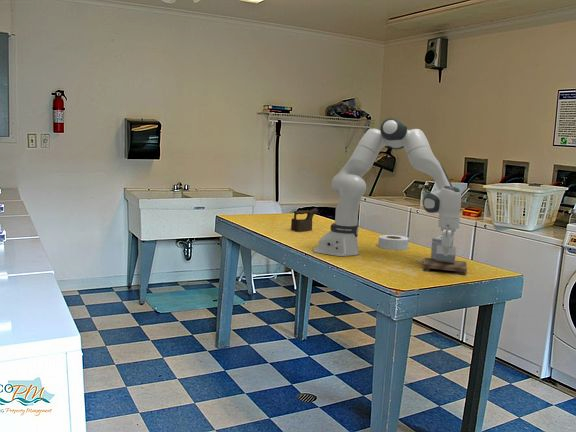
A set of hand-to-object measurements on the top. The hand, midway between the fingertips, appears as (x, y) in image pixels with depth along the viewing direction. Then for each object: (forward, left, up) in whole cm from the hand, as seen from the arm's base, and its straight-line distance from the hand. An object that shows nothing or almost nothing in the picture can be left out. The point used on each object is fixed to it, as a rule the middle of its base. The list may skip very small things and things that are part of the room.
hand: (446, 254), depth 237 cm
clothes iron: (-83, +64, -7) cm, 105 cm away
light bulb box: (-2, +21, -7) cm, 22 cm away
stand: (0, 0, -7) cm, 7 cm away
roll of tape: (-27, +39, -7) cm, 49 cm away
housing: (0, 0, -3) cm, 3 cm away
